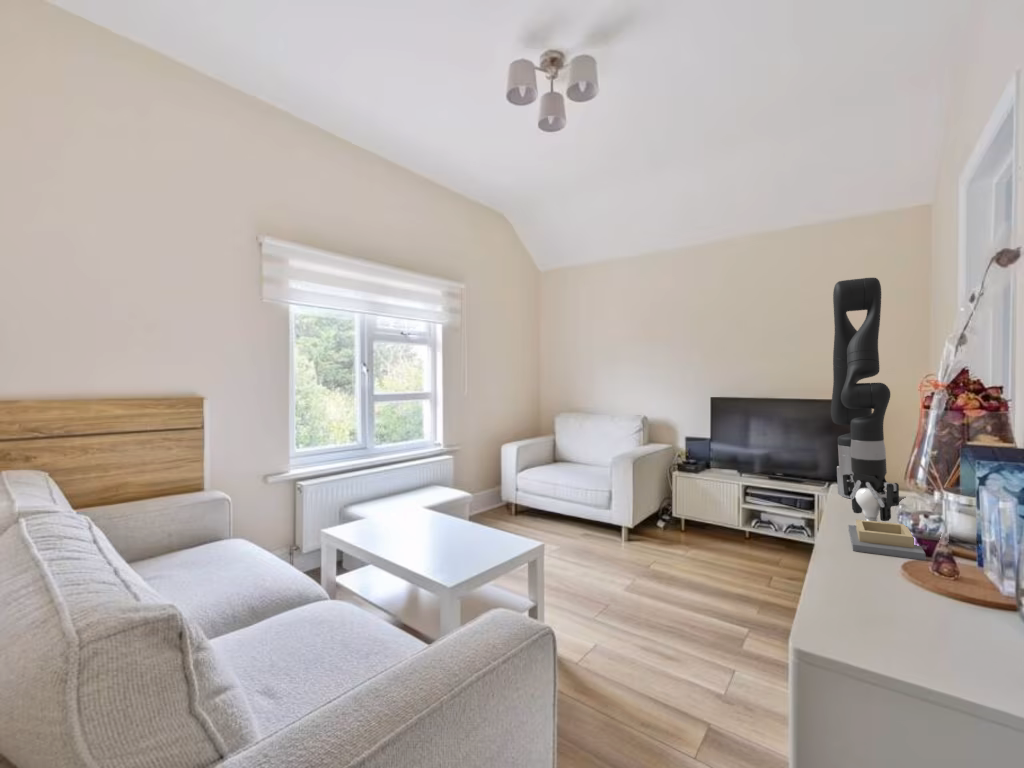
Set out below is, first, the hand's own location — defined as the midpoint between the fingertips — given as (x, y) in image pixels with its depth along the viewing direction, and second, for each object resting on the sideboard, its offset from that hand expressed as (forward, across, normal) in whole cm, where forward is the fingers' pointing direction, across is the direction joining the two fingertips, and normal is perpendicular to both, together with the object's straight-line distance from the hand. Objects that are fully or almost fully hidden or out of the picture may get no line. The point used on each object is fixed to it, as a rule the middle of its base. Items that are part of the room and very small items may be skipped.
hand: (870, 516), depth 123 cm
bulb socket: (+3, -10, +9) cm, 14 cm away
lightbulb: (+3, 0, 0) cm, 3 cm away
